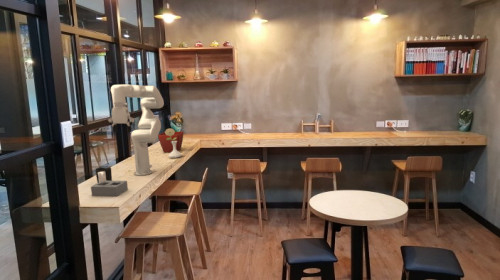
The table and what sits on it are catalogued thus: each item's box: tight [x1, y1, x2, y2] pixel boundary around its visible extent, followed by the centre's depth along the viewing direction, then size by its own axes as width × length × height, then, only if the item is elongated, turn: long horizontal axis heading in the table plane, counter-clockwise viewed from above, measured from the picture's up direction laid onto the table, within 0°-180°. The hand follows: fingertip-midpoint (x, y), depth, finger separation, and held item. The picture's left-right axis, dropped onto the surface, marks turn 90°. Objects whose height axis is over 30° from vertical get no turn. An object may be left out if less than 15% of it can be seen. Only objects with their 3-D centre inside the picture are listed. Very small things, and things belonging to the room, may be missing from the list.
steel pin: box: [98, 171, 107, 185], centre depth 202 cm, size 4×4×11 cm
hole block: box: [90, 180, 129, 197], centre depth 202 cm, size 12×16×6 cm
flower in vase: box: [164, 128, 183, 159], centre depth 287 cm, size 13×11×25 cm
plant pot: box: [157, 131, 184, 153], centre depth 313 cm, size 19×19×17 cm
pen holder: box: [94, 166, 113, 184], centre depth 221 cm, size 9×9×10 cm
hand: (122, 132), depth 215 cm, fingers open, 9 cm apart
